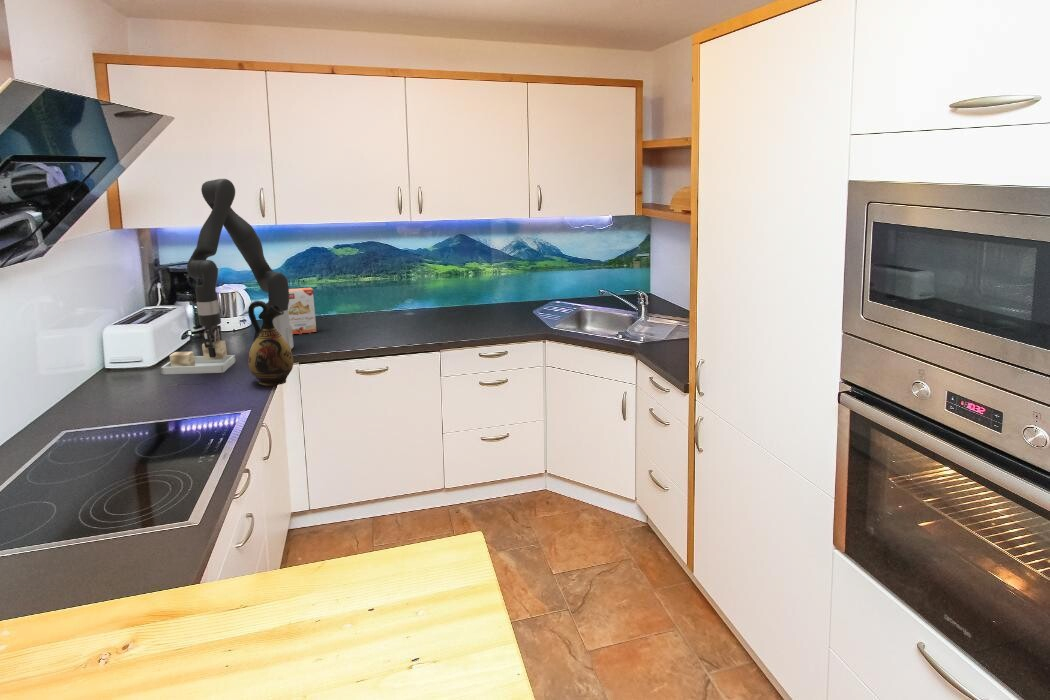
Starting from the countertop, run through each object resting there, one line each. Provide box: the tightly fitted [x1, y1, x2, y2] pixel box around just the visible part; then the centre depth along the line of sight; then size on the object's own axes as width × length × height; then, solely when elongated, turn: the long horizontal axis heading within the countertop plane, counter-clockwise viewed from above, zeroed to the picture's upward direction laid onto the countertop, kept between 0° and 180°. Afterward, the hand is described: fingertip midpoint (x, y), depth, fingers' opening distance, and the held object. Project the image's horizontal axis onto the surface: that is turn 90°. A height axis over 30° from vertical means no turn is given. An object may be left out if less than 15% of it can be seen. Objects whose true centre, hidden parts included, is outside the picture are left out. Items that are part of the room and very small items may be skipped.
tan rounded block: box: [169, 351, 195, 367], centre depth 268 cm, size 7×5×6 cm
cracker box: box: [288, 287, 317, 336], centre depth 322 cm, size 14×6×21 cm, turn 114°
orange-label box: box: [201, 340, 228, 360], centre depth 268 cm, size 7×5×6 cm
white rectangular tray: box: [160, 354, 237, 376], centre depth 269 cm, size 23×15×4 cm, turn 95°
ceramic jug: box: [247, 300, 294, 387], centre depth 250 cm, size 17×15×30 cm
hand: (215, 354), depth 269 cm, fingers closed on orange-label box, 5 cm apart
